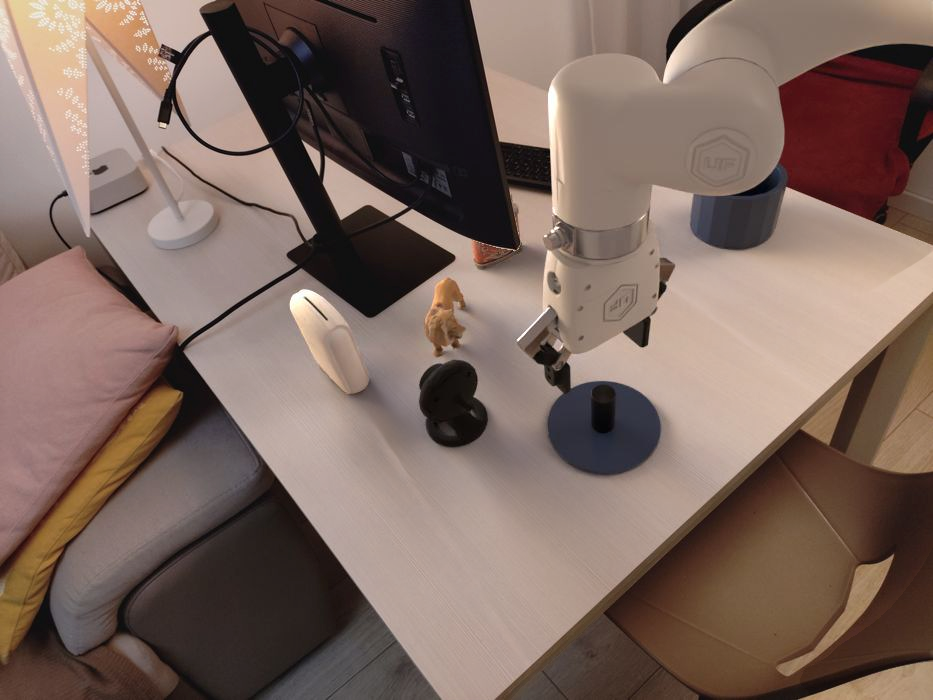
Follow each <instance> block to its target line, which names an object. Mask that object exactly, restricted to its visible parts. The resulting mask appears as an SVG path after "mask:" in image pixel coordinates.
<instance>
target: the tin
mask: <svg viewBox="0 0 933 700" xmlns="http://www.w3.org/2000/svg"><path fill="white" fill-rule="evenodd" d="M788 182H789V178H788V172H787V169H786V168H785V167H784V166H783V165H782V164H781V163H780V161H778V163H777V165H776V167H775V168H774V170H773V171H772V172H771V174H770V175H769V176H768V177H767V178H766V179H765V180H764V181H762V182H761V183H759V184H758V185H756V186H755V187H753V188H751V189H749V190H746V191H744V192H741V193H737V194H733V195H726V196H707V195H698V194H693V193H692V200H691V208H690V214H689V228H690V231H691V232H692V234H693V235H694V236H695V237H696V238H697V239H698V240H700V241H701V242H702V243H705V244H707V245H709V246H712V247H714V248H719V249H723V250H746V249H751V248H755V247H758V246H760V245H762V244H764V243H766V242H767V241H768V240H769V239H770V238H771V237H772V236H773V234H774V232H775V230H776V228H777V225H778V220H779V216H780V212H781V209H782V205H783V202H784V201H783V200H784V197H785V192H786V189H787V185H788Z"/></svg>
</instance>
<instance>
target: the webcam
mask: <svg viewBox="0 0 933 700" xmlns="http://www.w3.org/2000/svg"><path fill="white" fill-rule="evenodd" d="M478 384H479V378H478V373H477V370H476V368H475V367H474V366H473V365H472V364H471V363H470V362H468V361H466V360H463V359H451V360H448V361H446V362H443V363H440V362H438V363H434V364H431V365H430V366H428V368H427V369H426V370H425V371H424V372H423V373H422V375H421V377H420V379H419V384H418V387H419V390H420V391H419V392H420V393H419V398H418V405H419V409H420V412H421V414H422V415H423V416H424V417H425V418H426V419H425V429H426V432H427V434H428V436H429V438H430V439H431V440H432V441H433V442H435V443H436V444H437V445H440V446H443V447H446V448H447V447H448V448H459V447H464V446H467V445H469V444H472V443H473V442H475V441H477V440H478V439H479V438H480V437H481V436H482V435H483V434H484V432H485V430H486V429H487V427H488V423H489V414H488V410H487V408H486V406H485V405H484V403H483V402H482V401H481V400H479V399H478V398H477V397H475V394H476V393H477V389H478V386H479V385H478ZM471 411H473V412H474V414H475V415H474V414H472V413H471ZM440 423H446V424H447V425H448V426H449V427H451V428H452V429H453V430H454V431H455V432H454V433H455V434H454V435H452V434H448V433H447V434H446V433H445V432H443V431H442V430H441V429H440V428H439V424H440Z"/></svg>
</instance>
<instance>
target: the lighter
mask: <svg viewBox="0 0 933 700" xmlns="http://www.w3.org/2000/svg"><path fill="white" fill-rule="evenodd" d="M511 200H512V205H513V210H514V214H515V218H516V223H517V228H518V232H519V236H520V237H521V232H520V222H519V212H520V211H519V206H518V205H517V204H516V203H515V202H513V195H512V194H511ZM471 246H472V251H473V256H474V258H473V263H474V267H475V268H476V269H478V270H482V271H483V270H487V269H490V268H493V267H496V266H498V265H501V264H503V263H505V262H507V261H509V260H511V259H512V258H514V257H516V256H517V255H519V254H520V253H521V252H522V251H523V242H522V241H521V245H520V247H519V249H518V250H516V251H513V250H507V249H501V248H496V247H493V246H489V245H486V244H482V243H479V242H476V241H473V240H471Z"/></svg>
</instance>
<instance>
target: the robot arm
mask: <svg viewBox="0 0 933 700" xmlns="http://www.w3.org/2000/svg"><path fill="white" fill-rule="evenodd" d="M900 44H901V45H903V44H904V45H905V44H908V45H919V46H927V47H928V46H929V47H933V0H731V1H729V2H728V3H726V4H725V5H723V6H722V7H720V8H718V9H717V10H716V11H714V12H713V13H711V14H710V15H708V16H706V18H704V19H703V20H702V21H700V23H698V24H697V25H696V26H694V27H693V28H691V30H690V31H689V32H688V33H687V34H686V35H685V36H684V37H683V38H682V39H681V40H680V41H679V42H678V44H677V45H676V47H675V48H674V49H673V51H672V53H671V54H670V55H669V56H670V57H669V59H668V60H667V63H666V66H665V69H664V74H663V79H662V81H661V80H660V78H659V76H658V73H657V72H656V70H655V69H654V67H653V66H652V65H651V64H649V63H648V62H647V61H645V60H644V59H642V58H639V57H637V56H634V55H632V54H631V55H630V54H625V53H615V52H614V53H611V52H608V53H607V52H606V53H598V54H597V53H596V54H591V55H587V56H584V57H580V58H578V59H575V60H573V61H571V62H569V63H567V64H566V65H564V66H563V67H562V68H560V69H559V71H557V73H556V74H555V76H554V77H553V78H552V80H551V83H550V85H549V89H548V94H547V95H548V96H547V97H548V98H547V111H548V114H547V115H548V131H549V133H548V134H549V151H550V153H549V155H550V156H549V157H550V176H551V199H552V200H551V202H552V203H551V204H552V229H551V230H550V231H549V233H547V234H545V235H543V237H542V241H543V244H544V247H545V248H546V249H547V252H546V258H545V264H544V271H543V283H542V314H541V315H540V316H539V317H538V318H537V319H535V321H534V322H533V323H532V324H531V325H530V326H529V327H528V328H527V329H526V331H525V332H523V334H522V335H521V336H519V338H518V339H517V340H516V345H517V346H518V348H520V349H521V350H522V351H523V352H524V354H526V355H527V356H528V357H529V358H530V359H532V361H534V362H535V363H536V364H537V365H540V366H543V373H544V378H545V380H546V382H547V384H549V385H550V386H551V387H553V388H554V387H556V388H558V390H559V391H560V392H561V393H562V394H567V393H569V392H570V390H571V388H572V383H571V382H572V378H571V377H572V376H571V365H570V364H569V363H568V362H567V361H568V360H569V358H570V356H571V355H572V354H573V355H581V354H584V353H587V352H589V351H591V350H593V349H596V348H597V347H599V346H601V345H603V344H605V343H606V342H608V341H610V340H611V339H613V338H615V337H616V336H618V335H620V334H621V333H623V334H624V335H625V336H626V337H627V338H628V339H629V340H631V341H632V342H633V343H634V344H636V345H637V346H638V347H639V348H643V349H644V348H645V347H647V346H649V342H650V341H649V340H650V332H651V322H652V318H651V317H653V316H654V315H655V314H656V313H657V311H658V306H657V305H658V302H659V300H660V299H661V298H662V296H663V295H664V293H666V290H667V288H668V286H667V284H666V283H668V282H669V280H670V278H671V276H672V275H673V273H674V270H675V268H676V264H675V263H674V262H673V261H671V260H669V259H668V258H666V257H660V247H659V241H658V240H659V239H658V235H657V230H656V225H655V223H654V222H653V220H652V219H651V218H650V214H651V202H652V192H653V191H652V190H653V186H656V187H662V188H666V189H671V190H674V191H679V192H683V193H688V194H692V195H693V194H698V195H707V196H726V195H733V194H737V193H741V192H744V191H746V190H749V189H751V188H753V187H755V186H756V185H758V184H759V183H761V182H762V181H764V180H765V179H766V178H767V177H768V176H769V175H770V174H771V172H772V171H773V170H774V168H775V167H776V165H777V163H778V162H780V160H781V157H782V153H783V150H784V148H785V147H784V146H785V134H786V133H785V132H786V131H785V121H784V116H783V111H782V105H781V98H780V89H779V87H780V86H781V87H782V86H783V85H785V84H786V83H788V82H790V81H792V80H794V79H795V78H797V77H799V76H801V75H803V74H805V73H806V72H808V71H810V70H812V69H814V68H816V67H818V66H821V65H823V64H825V63H827V62H830V61H831V60H834V59H837V58H838V57H839V58H840V56H841V57H842V56H843V55H847V54H850V53H853V52H856V51H859V50H864V49H868V48H872V47H879V46H880V47H881V46H885V45H900ZM558 340H559V341H560V342H561V343H562V345H561V346H560V348H559V350H557V349H556V348H554V345H555V343H556V342H557V341H558Z"/></svg>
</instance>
